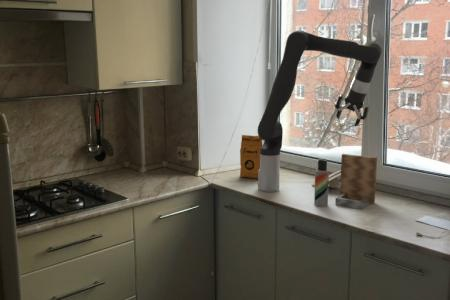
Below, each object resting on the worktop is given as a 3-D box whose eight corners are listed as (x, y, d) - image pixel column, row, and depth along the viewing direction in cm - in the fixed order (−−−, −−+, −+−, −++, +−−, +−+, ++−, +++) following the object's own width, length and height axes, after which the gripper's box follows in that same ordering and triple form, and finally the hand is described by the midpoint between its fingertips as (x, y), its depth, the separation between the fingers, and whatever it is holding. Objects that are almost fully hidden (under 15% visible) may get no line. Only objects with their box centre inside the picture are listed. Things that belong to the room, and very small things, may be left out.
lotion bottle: (312, 203, 228) (314, 157, 224) (325, 202, 229) (327, 157, 225) (316, 207, 223) (317, 160, 219) (329, 206, 223) (331, 160, 219)
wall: (327, 202, 244) (352, 180, 243) (315, 187, 244) (340, 166, 243) (323, 197, 260) (346, 177, 259) (311, 184, 260) (334, 164, 259)
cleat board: (331, 204, 227) (333, 158, 223) (341, 197, 237) (343, 153, 233) (365, 209, 219) (368, 162, 215) (374, 202, 229) (377, 157, 225)
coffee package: (259, 180, 267) (260, 137, 263) (237, 178, 272) (237, 135, 268) (266, 176, 276) (267, 134, 271) (245, 173, 281) (245, 133, 277)
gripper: (341, 84, 228) (329, 117, 236) (371, 97, 223) (358, 130, 230) (346, 81, 234) (335, 113, 242) (376, 93, 229) (364, 125, 236)
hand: (346, 121), depth 236 cm, fingers open, 8 cm apart
